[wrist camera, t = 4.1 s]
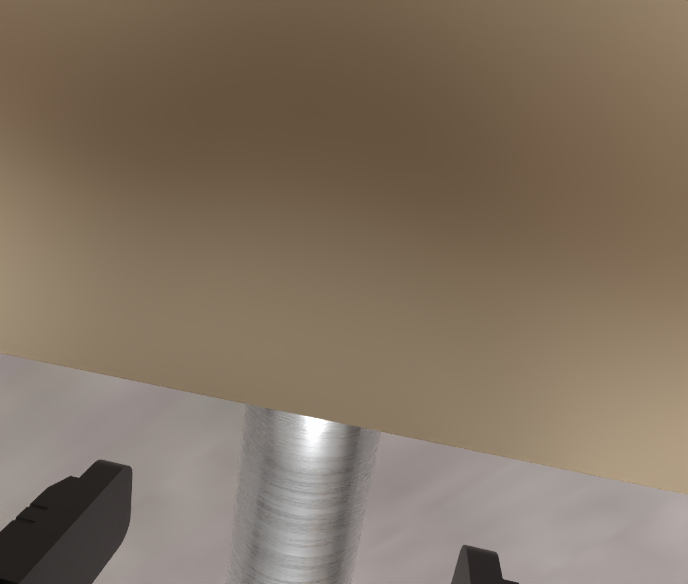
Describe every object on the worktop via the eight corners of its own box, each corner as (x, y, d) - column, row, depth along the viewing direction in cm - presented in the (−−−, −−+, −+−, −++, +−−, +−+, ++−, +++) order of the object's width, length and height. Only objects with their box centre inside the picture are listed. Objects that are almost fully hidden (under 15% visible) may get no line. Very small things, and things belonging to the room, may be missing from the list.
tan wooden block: (245, -56, 16) (-210, -556, 4) (584, -12, 15) (1125, -490, 3) (224, 208, 18) (-102, 332, 7) (514, 258, 17) (701, 497, 6)
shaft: (349, -356, 9) (316, -590, 6) (529, -343, 9) (584, -579, 6) (246, 541, 15) (205, 640, 12) (352, 566, 14) (336, 672, 12)
